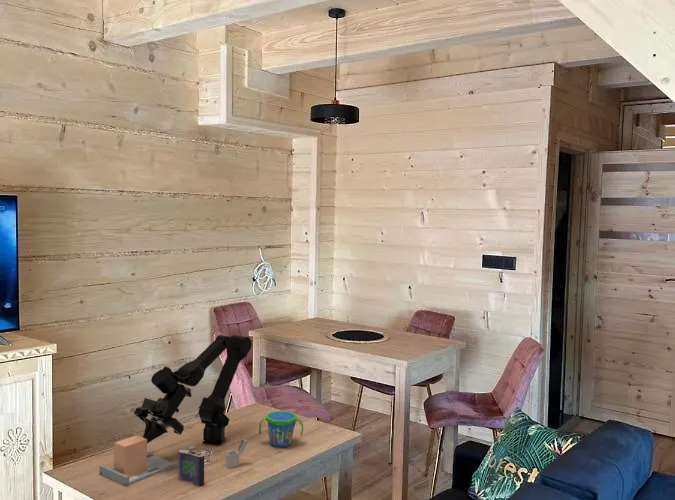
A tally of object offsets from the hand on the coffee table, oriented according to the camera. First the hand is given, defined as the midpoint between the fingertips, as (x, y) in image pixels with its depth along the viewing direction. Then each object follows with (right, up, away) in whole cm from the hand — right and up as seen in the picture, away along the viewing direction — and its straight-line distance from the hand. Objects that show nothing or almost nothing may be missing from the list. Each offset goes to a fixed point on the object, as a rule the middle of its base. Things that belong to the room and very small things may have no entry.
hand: (142, 444), depth 188 cm
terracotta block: (-3, -8, -3) cm, 9 cm away
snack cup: (+40, -8, +26) cm, 49 cm away
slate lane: (-1, -8, 0) cm, 8 cm away
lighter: (+28, -9, +6) cm, 30 cm away
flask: (+17, -9, -6) cm, 20 cm away
